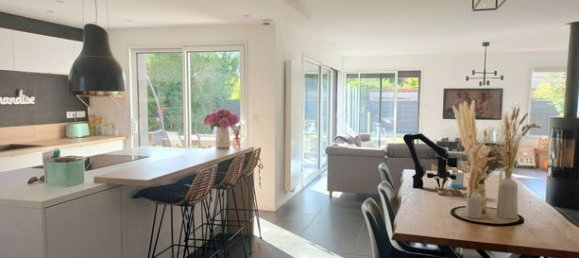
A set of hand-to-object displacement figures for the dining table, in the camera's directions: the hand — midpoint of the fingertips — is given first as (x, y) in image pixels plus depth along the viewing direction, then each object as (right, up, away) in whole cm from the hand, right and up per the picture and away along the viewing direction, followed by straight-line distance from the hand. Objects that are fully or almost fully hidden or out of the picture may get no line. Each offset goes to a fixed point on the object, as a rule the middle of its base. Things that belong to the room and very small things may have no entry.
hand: (440, 188), depth 281 cm
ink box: (+15, -1, +12) cm, 19 cm away
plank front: (-1, -2, -11) cm, 11 cm away
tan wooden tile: (+8, -2, -7) cm, 11 cm away
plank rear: (+1, -1, -1) cm, 2 cm away
